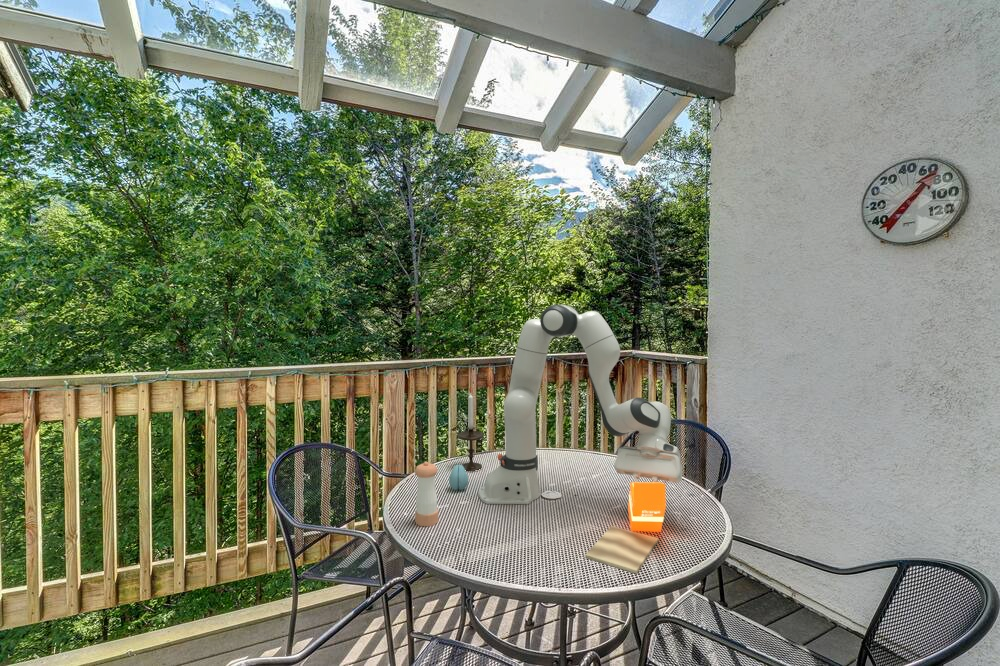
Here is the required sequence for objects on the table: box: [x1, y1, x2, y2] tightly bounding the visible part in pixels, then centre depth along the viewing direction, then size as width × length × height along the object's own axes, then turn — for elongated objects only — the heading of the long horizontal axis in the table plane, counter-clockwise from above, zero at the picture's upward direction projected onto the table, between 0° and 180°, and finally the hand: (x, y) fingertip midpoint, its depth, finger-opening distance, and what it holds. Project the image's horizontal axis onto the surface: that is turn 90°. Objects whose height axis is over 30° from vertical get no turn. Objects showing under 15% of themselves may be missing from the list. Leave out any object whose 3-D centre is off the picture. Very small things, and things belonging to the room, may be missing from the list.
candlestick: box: [457, 386, 485, 471], centre depth 197 cm, size 11×11×35 cm
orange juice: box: [627, 481, 667, 533], centre depth 138 cm, size 8×9×20 cm
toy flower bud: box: [448, 464, 469, 491], centre depth 177 cm, size 7×9×12 cm
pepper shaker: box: [414, 461, 439, 527], centre depth 149 cm, size 7×7×19 cm
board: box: [585, 525, 659, 575], centre depth 132 cm, size 20×14×1 cm
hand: (643, 489), depth 142 cm, fingers open, 2 cm apart
